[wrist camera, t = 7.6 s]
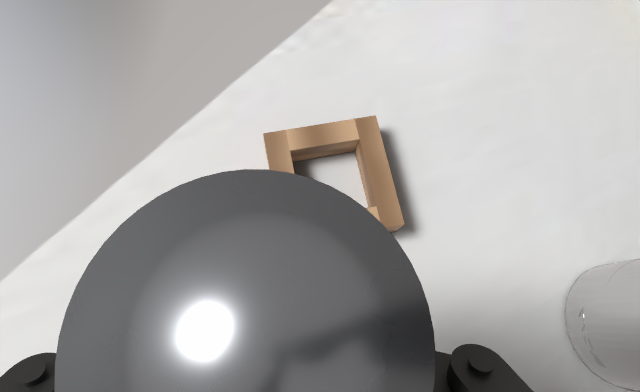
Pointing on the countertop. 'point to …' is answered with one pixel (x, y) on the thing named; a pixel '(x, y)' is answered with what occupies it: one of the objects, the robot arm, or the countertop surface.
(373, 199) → the collar block
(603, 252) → the countertop surface
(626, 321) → the robot arm
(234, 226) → the pin
